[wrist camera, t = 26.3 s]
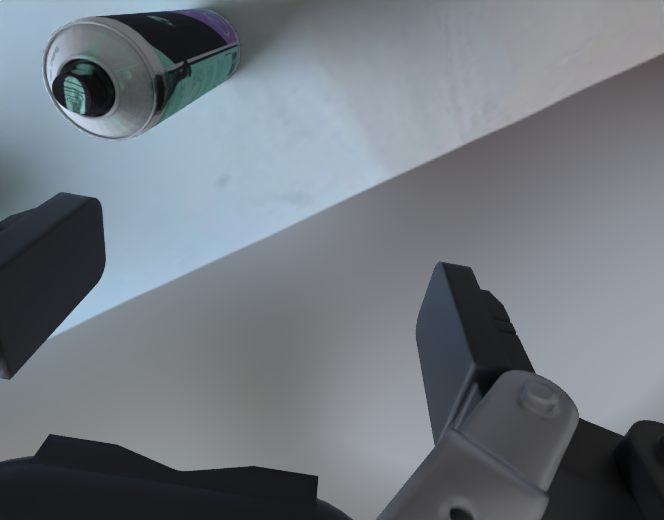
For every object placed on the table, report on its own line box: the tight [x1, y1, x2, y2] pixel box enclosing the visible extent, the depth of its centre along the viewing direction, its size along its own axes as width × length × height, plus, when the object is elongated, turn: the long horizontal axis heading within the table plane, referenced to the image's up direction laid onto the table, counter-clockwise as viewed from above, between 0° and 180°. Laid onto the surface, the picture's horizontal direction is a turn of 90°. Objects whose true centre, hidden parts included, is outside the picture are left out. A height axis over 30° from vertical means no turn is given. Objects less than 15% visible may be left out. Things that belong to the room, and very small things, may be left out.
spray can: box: [42, 9, 241, 141], centre depth 28 cm, size 6×6×20 cm
